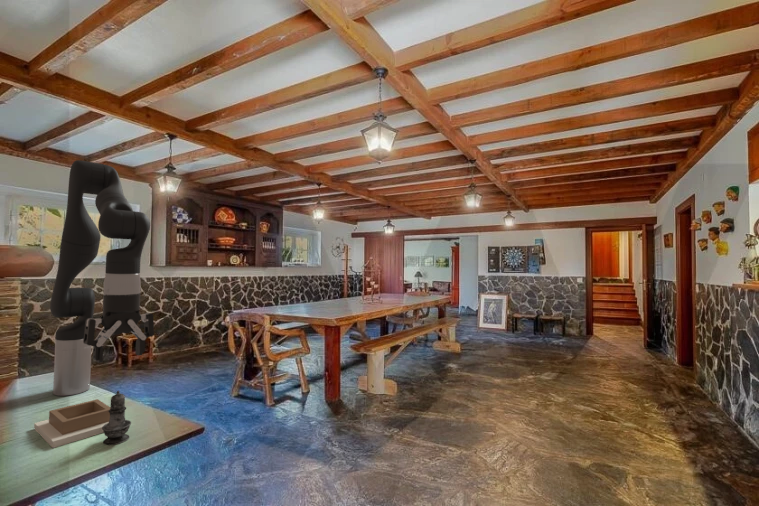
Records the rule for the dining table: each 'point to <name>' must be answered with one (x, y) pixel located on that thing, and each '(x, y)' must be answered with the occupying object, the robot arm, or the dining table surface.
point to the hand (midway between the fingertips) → (119, 358)
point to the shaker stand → (74, 423)
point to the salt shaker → (116, 422)
